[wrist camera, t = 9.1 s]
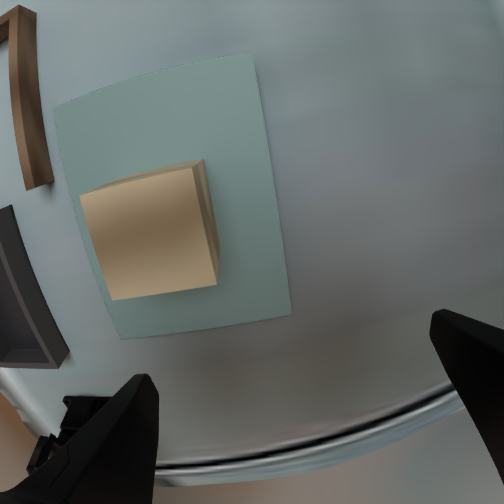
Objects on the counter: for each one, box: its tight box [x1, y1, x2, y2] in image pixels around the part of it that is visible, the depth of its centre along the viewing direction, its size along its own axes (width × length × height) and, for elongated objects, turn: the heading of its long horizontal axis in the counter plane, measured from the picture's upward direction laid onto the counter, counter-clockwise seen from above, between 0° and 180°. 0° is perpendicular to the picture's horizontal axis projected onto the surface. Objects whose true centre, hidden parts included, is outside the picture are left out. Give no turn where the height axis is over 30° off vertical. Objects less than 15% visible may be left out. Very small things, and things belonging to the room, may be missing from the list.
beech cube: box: [80, 159, 220, 301], centre depth 15 cm, size 5×5×5 cm
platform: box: [53, 52, 292, 339], centre depth 18 cm, size 16×12×2 cm
